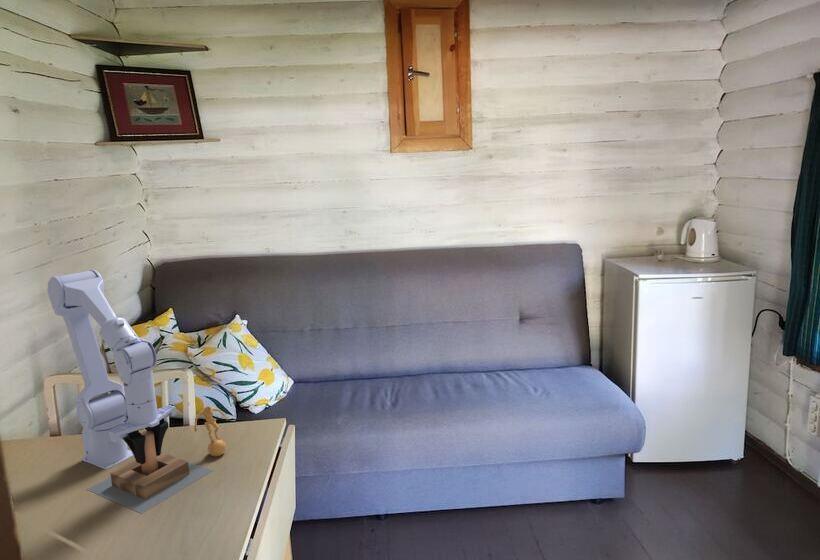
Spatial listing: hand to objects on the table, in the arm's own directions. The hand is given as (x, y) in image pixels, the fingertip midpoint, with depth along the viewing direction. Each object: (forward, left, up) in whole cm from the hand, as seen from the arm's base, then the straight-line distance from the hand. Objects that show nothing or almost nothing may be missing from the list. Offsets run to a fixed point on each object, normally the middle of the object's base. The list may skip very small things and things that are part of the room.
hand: (148, 458), depth 128 cm
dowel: (0, 0, -3) cm, 3 cm away
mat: (0, 0, -6) cm, 6 cm away
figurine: (+3, +15, -6) cm, 16 cm away
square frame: (0, 0, -5) cm, 5 cm away
